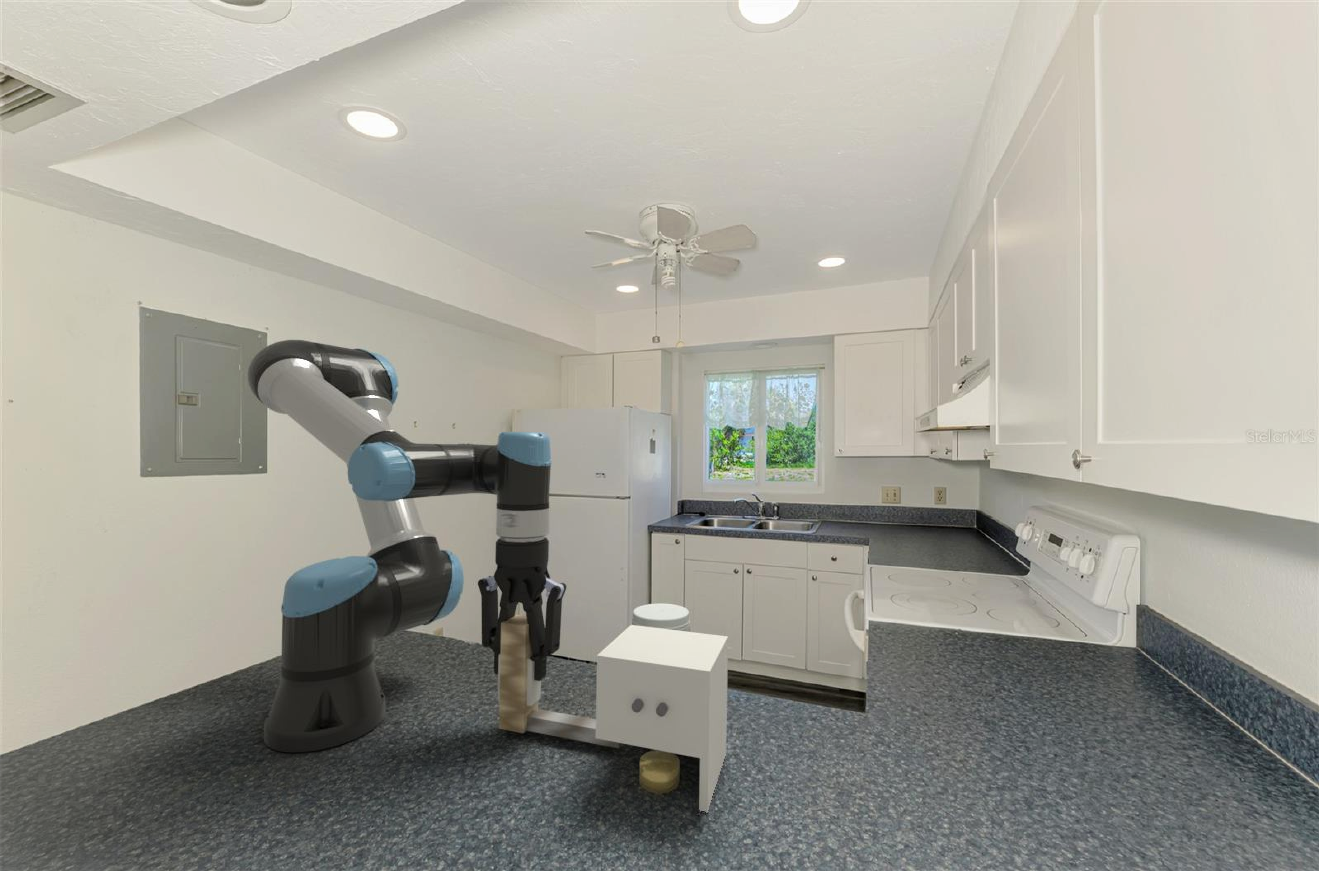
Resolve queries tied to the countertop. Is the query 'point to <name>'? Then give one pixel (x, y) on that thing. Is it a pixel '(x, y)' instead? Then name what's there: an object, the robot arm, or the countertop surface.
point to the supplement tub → (662, 617)
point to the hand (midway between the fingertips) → (519, 698)
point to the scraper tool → (515, 693)
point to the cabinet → (666, 696)
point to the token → (659, 771)
